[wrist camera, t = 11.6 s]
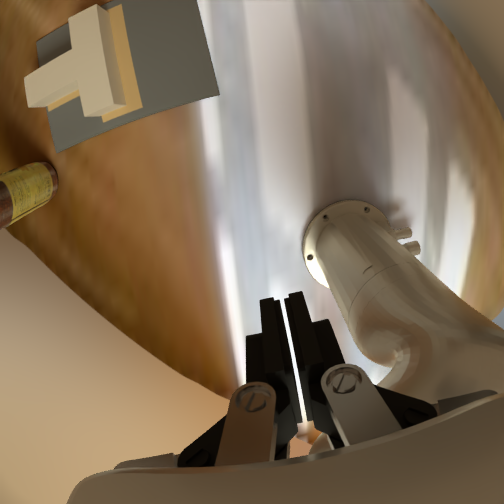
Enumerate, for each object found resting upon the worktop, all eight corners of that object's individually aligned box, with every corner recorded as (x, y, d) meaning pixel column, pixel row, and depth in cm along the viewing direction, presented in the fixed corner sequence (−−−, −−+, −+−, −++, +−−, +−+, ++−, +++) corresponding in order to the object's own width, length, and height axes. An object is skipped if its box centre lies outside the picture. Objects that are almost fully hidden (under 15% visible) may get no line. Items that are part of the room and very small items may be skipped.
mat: (189, -26, 25) (189, -27, 25) (219, 94, 32) (219, 94, 32) (37, 42, 27) (36, 42, 27) (57, 152, 34) (56, 153, 34)
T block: (109, 12, 26) (96, 4, 23) (126, 105, 32) (113, 104, 28) (37, 51, 27) (20, 48, 24) (51, 138, 33) (35, 141, 29)
